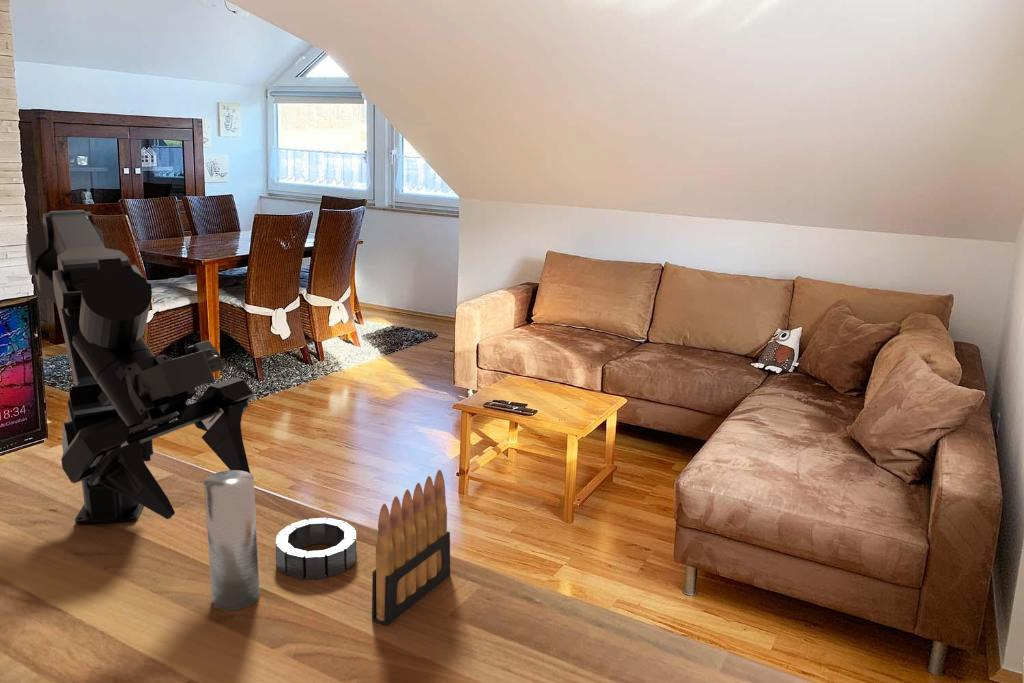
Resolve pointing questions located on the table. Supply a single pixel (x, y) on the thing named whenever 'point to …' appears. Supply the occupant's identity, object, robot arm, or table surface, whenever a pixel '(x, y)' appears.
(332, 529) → the ring
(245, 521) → the silver tall cylinder
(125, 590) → the table surface
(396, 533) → the ammunition clip
